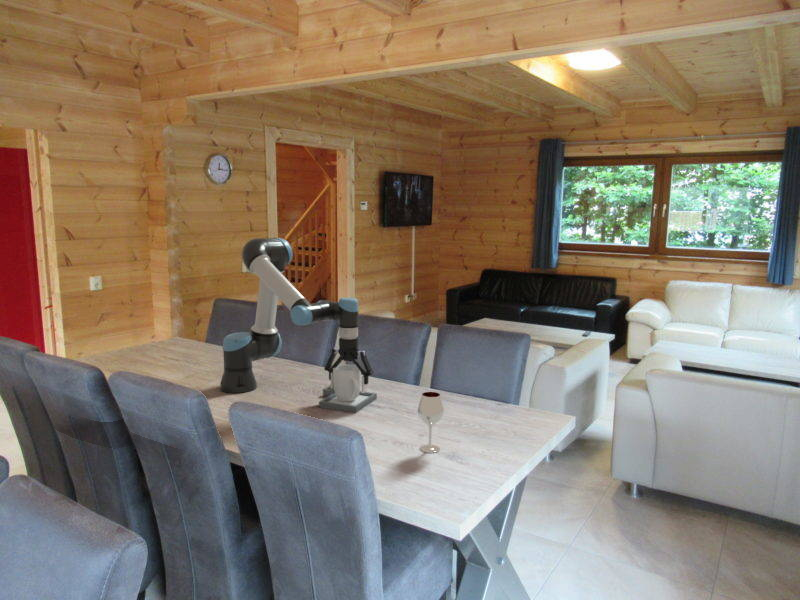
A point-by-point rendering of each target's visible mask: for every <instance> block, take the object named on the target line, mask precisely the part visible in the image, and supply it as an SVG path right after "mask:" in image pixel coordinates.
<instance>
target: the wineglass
mask: <svg viewBox="0 0 800 600" xmlns="http://www.w3.org/2000/svg"><path fill="white" fill-rule="evenodd" d="M442 400H443V399H442V397H441V393H439V392H436V391H426V392H422V393H421V397H420V399H419V404H418V408H417V415H418V417H419V418H420V420H421V421H422V422H423V423H425V425H427V426H428V444H424V445H421V446H420V448H419V450H420V451H421V452H423V453H427V454H435V453H439V452H440V451H441V450H440V449H441V448H440V447H439V446H437V445H435V444H432V434H433V433H432V430H433V426H434V425H436V424H437V423H438V422H440V421H441V419H443V416H444V413H445V411H444V405H443V401H442Z"/></svg>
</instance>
